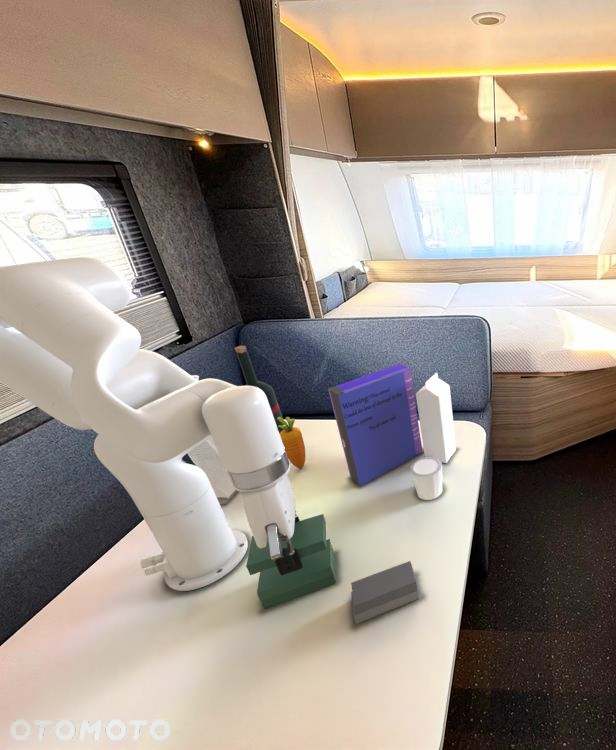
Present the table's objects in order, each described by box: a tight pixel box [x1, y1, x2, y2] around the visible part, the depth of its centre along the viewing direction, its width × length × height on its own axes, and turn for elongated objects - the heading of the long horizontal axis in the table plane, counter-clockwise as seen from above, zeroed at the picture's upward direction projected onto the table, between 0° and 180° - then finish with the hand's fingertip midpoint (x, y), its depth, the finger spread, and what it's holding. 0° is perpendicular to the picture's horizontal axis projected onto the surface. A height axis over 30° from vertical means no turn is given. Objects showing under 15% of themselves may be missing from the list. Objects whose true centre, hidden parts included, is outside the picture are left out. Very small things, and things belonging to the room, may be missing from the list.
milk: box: [415, 372, 457, 464], centre depth 94 cm, size 6×6×22 cm
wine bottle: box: [234, 345, 284, 433], centre depth 96 cm, size 8×10×30 cm
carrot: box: [277, 416, 306, 470], centre depth 92 cm, size 5×5×15 cm
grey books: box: [350, 560, 420, 625], centre depth 63 cm, size 10×4×4 cm, turn 114°
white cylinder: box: [409, 456, 443, 501], centre depth 85 cm, size 7×7×7 cm
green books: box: [256, 538, 337, 610], centre depth 66 cm, size 11×6×4 cm, turn 114°
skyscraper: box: [181, 374, 238, 506], centre depth 83 cm, size 8×8×28 cm
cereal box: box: [327, 363, 424, 488], centre depth 90 cm, size 17×5×24 cm, turn 136°
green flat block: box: [245, 513, 327, 576], centre depth 63 cm, size 11×6×2 cm, turn 114°
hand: (292, 552), depth 64 cm, fingers closed on green flat block, 6 cm apart
